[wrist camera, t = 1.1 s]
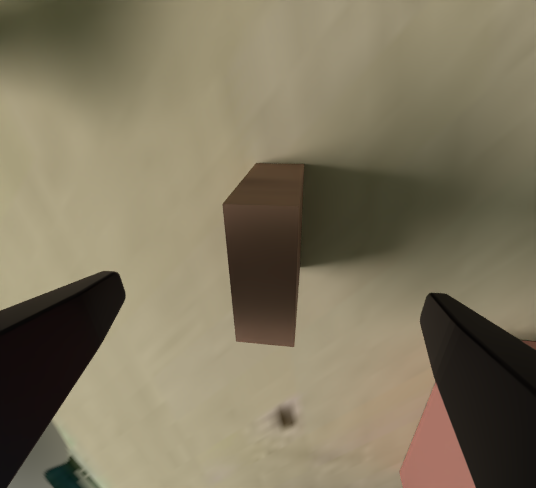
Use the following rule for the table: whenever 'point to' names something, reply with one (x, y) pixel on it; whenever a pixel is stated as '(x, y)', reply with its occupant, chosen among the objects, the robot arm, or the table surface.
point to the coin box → (436, 450)
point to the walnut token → (265, 252)
